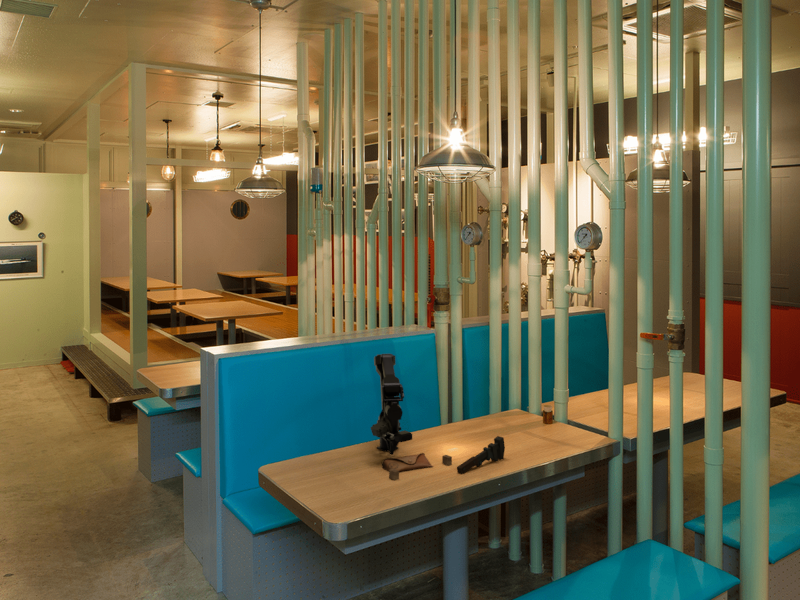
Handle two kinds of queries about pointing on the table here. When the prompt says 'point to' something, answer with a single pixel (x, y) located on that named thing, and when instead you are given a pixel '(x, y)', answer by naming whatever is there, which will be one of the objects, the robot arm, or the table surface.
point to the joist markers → (395, 473)
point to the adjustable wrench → (485, 455)
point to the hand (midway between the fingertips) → (391, 454)
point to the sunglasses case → (406, 463)
